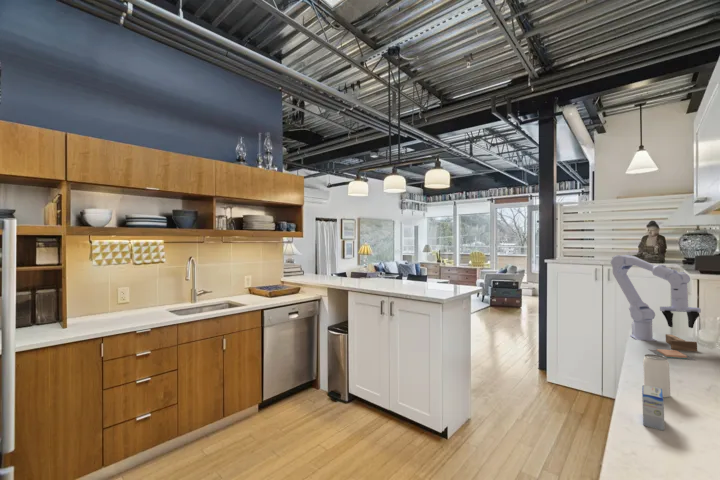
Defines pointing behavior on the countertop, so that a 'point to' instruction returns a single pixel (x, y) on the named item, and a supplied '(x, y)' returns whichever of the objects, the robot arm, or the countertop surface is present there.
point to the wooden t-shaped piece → (680, 343)
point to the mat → (671, 358)
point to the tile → (671, 353)
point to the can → (657, 373)
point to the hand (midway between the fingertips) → (680, 327)
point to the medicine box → (653, 407)
